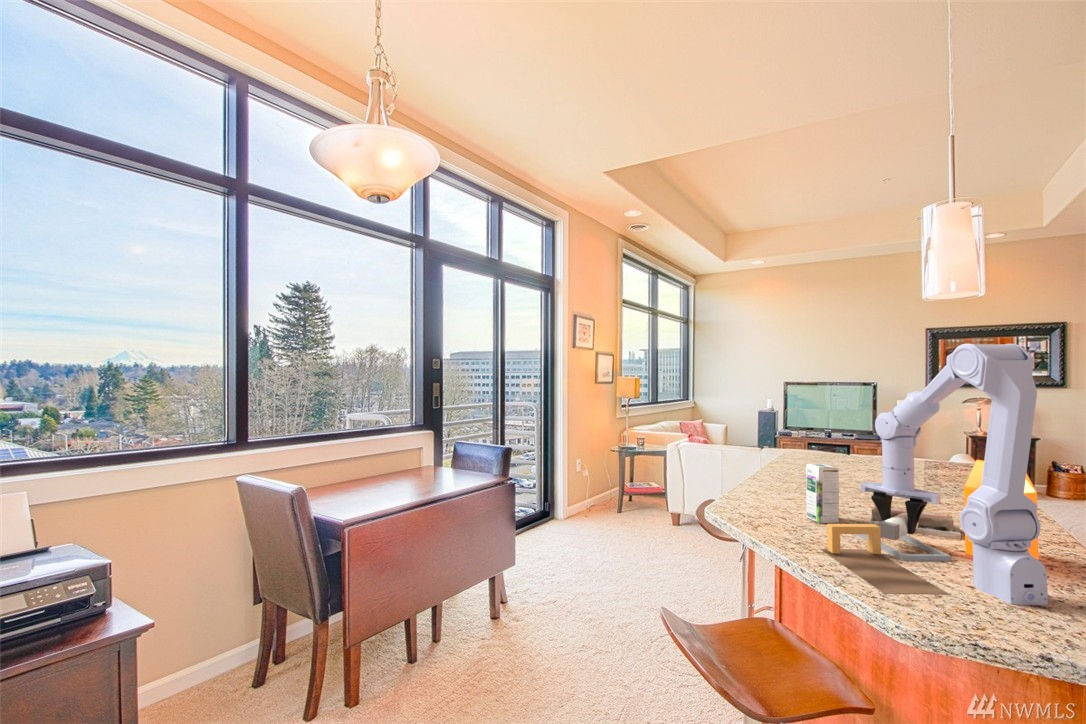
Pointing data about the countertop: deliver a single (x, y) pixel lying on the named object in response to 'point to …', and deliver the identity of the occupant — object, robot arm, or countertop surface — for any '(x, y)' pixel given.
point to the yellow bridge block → (869, 529)
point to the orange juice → (975, 483)
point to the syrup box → (822, 493)
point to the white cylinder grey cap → (894, 527)
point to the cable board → (883, 573)
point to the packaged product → (926, 523)
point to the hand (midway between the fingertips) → (899, 530)
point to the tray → (935, 555)
